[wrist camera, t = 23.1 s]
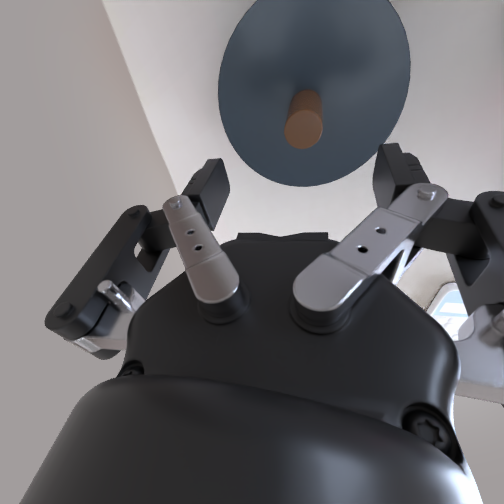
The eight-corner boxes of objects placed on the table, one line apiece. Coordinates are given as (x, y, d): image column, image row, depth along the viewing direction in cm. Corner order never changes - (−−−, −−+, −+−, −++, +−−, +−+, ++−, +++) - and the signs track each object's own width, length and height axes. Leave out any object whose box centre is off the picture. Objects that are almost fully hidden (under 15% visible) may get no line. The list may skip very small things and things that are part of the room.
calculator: (408, 336, 53) (410, 345, 51) (443, 280, 39) (448, 290, 37) (483, 343, 49) (487, 352, 48) (552, 284, 35) (560, 295, 34)
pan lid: (197, 3, 17) (163, 9, 14) (437, -63, 14) (483, -81, 10) (241, 185, 28) (228, 217, 24) (384, 176, 24) (397, 212, 20)
